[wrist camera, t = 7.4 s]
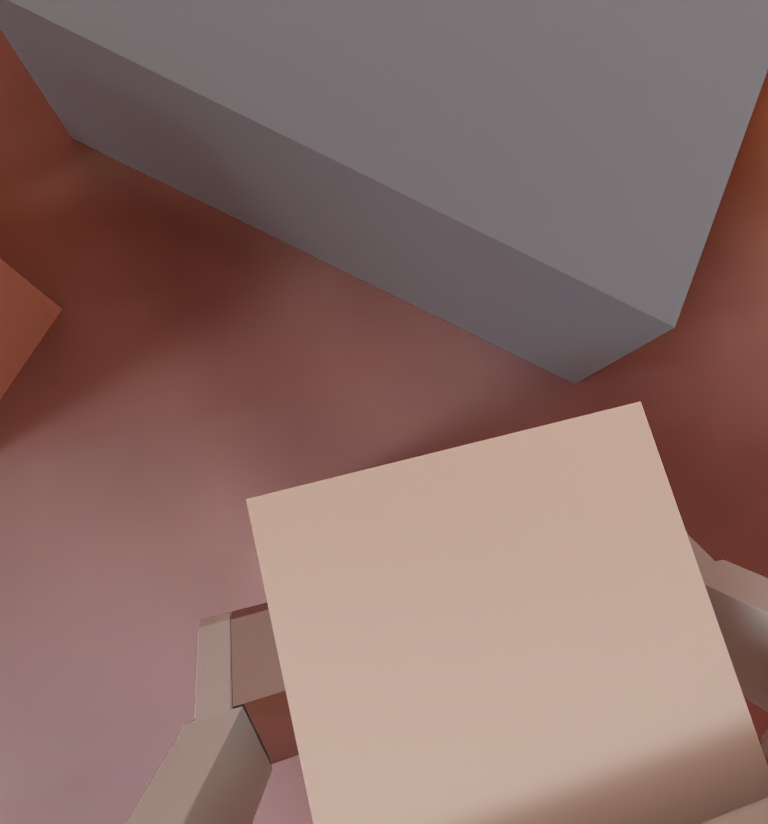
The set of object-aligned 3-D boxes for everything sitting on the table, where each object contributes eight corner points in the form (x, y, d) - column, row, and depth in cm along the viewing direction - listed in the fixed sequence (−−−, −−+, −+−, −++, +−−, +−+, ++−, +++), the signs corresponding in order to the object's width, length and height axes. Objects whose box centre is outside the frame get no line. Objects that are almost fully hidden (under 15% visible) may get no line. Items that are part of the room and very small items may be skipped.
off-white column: (336, 718, 13) (351, 1005, 5) (291, 513, 14) (245, 498, 6) (527, 657, 14) (790, 830, 6) (473, 467, 15) (640, 400, 7)
